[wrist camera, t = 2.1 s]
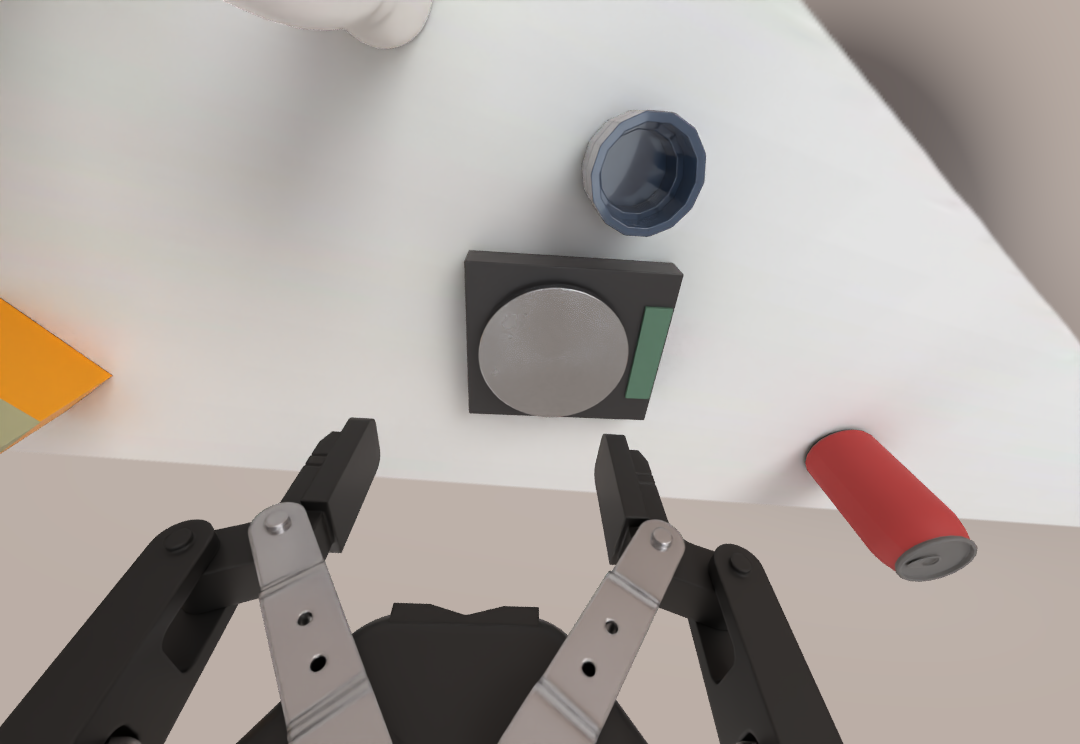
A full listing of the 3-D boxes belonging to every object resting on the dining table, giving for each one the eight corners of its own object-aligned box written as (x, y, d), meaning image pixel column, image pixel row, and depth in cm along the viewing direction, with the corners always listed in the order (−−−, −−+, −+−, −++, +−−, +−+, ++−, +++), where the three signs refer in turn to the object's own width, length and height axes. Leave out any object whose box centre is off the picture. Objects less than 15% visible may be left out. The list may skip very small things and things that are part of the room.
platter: (478, 278, 27) (477, 283, 26) (640, 288, 28) (643, 292, 27) (480, 408, 33) (479, 414, 32) (613, 413, 33) (614, 420, 33)
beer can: (802, 436, 40) (896, 547, 29) (874, 418, 38) (997, 527, 28) (801, 479, 43) (885, 592, 33) (867, 464, 42) (974, 576, 32)
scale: (468, 249, 29) (463, 262, 26) (673, 262, 30) (685, 275, 27) (472, 395, 36) (468, 416, 33) (637, 402, 37) (645, 422, 34)
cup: (587, 106, 24) (599, 105, 20) (689, 115, 25) (722, 116, 20) (574, 214, 28) (583, 232, 23) (664, 220, 28) (689, 239, 24)
